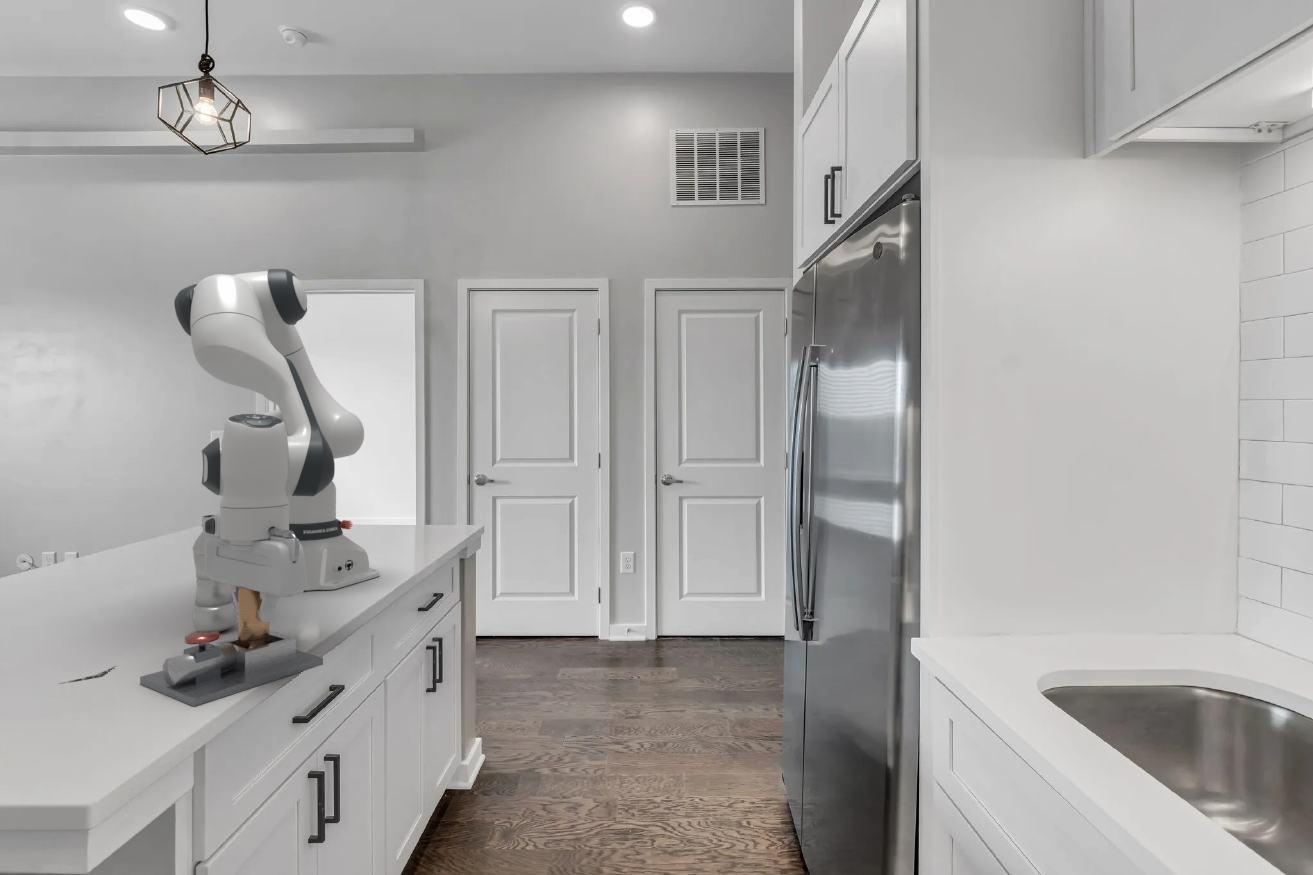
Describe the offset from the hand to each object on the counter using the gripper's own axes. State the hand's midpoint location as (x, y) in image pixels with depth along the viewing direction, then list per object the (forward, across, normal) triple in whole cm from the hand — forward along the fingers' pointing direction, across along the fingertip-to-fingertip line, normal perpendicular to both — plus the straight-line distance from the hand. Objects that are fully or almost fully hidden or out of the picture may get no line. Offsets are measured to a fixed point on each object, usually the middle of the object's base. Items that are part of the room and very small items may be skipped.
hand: (254, 617), depth 101 cm
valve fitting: (+8, 0, +3) cm, 8 cm away
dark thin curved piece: (+8, +17, +14) cm, 23 cm away
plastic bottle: (+8, +23, -6) cm, 25 cm away
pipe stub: (+5, 0, 0) cm, 5 cm away
